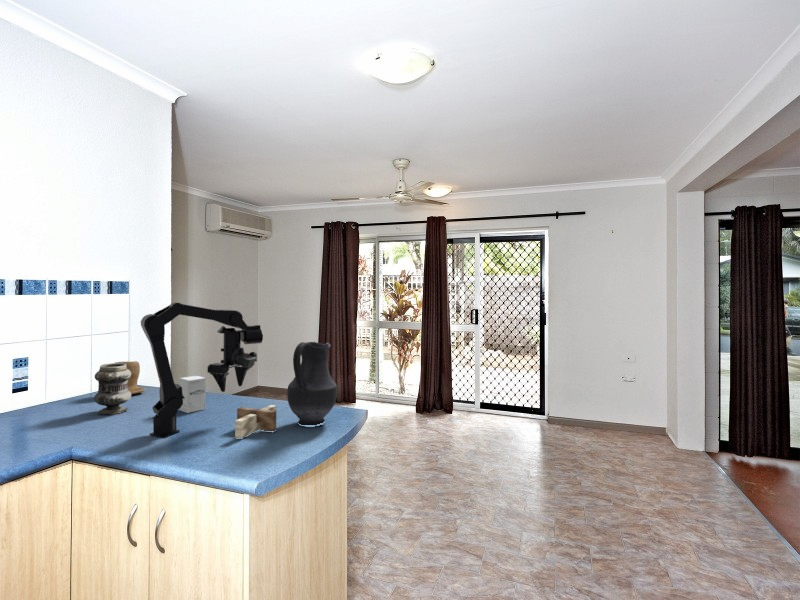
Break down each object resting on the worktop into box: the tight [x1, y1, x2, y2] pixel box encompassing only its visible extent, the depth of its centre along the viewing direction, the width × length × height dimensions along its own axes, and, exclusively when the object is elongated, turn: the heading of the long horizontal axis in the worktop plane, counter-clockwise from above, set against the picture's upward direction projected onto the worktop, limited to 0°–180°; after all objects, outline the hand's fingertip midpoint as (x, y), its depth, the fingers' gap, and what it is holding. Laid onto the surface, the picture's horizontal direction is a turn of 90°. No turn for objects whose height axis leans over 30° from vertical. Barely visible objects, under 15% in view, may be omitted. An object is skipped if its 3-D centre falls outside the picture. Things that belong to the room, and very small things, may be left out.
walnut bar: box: [236, 406, 277, 431], centre depth 154 cm, size 14×2×7 cm, turn 73°
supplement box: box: [178, 375, 207, 414], centre depth 177 cm, size 7×7×13 cm
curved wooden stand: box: [114, 360, 146, 396], centre depth 199 cm, size 15×12×15 cm
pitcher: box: [286, 341, 338, 425], centre depth 160 cm, size 17×21×30 cm
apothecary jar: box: [93, 362, 132, 415], centre depth 173 cm, size 12×12×18 cm
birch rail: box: [234, 404, 277, 439], centre depth 154 cm, size 20×2×6 cm, turn 163°
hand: (231, 388), depth 162 cm, fingers open, 9 cm apart
